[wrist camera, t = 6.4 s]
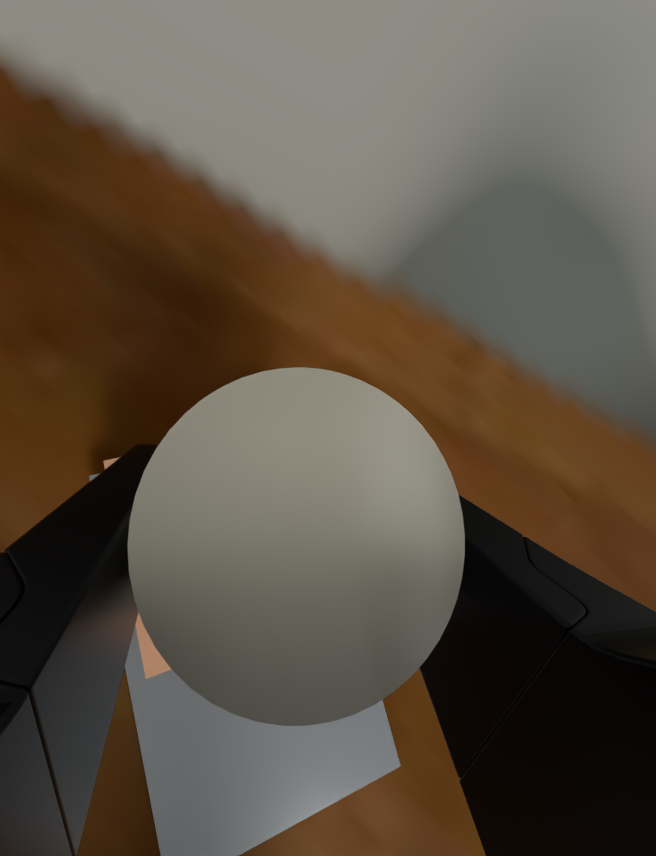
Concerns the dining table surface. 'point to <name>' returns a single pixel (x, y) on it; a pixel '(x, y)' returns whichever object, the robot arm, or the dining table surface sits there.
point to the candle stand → (239, 761)
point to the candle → (296, 546)
